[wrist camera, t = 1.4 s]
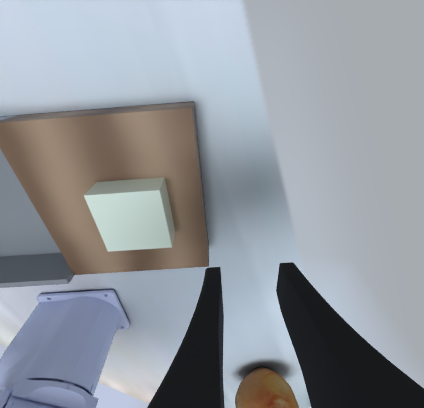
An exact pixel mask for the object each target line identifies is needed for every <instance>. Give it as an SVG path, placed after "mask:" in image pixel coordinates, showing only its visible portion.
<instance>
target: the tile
mask: <svg viewBox="0 0 424 408" xmlns="http://www.w3.org/2000/svg"><path fill="white" fill-rule="evenodd" d="M84 198H85V200H86V202H87V205H88V207H89V209H90V211H91V214H92V216H93V218H94V221H95V223H96V225H97V228H98V230H99V232H100V235H101V237H102V239H103V241H104V244H105V246H106V248H107V251H108V252H110V251H126V250H141V249H157V248H172V246H173V241H174V235H175V227H174V222H173V217H172V212H171V207H170V202H169V197H168V192H167V187H166V182H165V177H160V178H146V179H132V180H118V181H104V182H96V183H95V184H94V185H93V186H92V187H91V188H90V189H89V190H88V192H87V193H86V194H85V195H84Z"/></svg>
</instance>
